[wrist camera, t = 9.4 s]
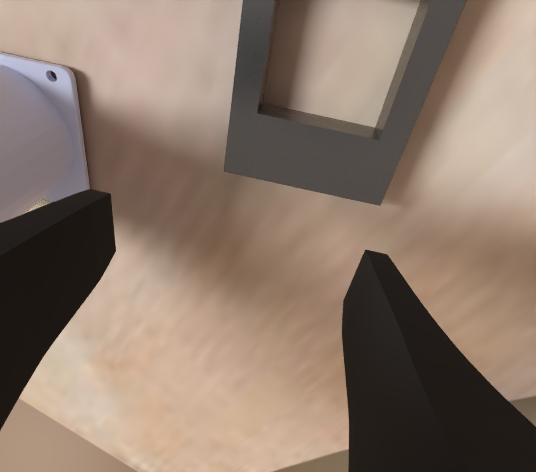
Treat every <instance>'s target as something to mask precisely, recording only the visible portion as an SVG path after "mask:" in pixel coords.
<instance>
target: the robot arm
mask: <svg viewBox="0 0 536 472" xmlns="http://www.w3.org/2000/svg"><path fill="white" fill-rule="evenodd" d="M51 71H53V72H54V73H55V74H56V76H57V80H56V79H54V78H53V77H52V75H51ZM42 199H44V200H49V201H53V203H50V204H48V205H45V206H43V207H40V208H37V209H35V210H32V211H30V212H27V211H28V210H29V209H31V208H32V207H33V206H35V205H36V204H37V203H38V202H40V201H41V200H42ZM26 212H27V213H26ZM24 213H25V214H24ZM115 252H116V246H115V236H114V225H113V215H112V204H111V194H109V193H105V192H100V191H96V190H91V189H90V184H89V177H88V169H87V162H86V154H85V146H84V139H83V131H82V123H81V116H80V108H79V101H78V93H77V85H76V78H75V75H74V73H73V72H72V71H71V70H70V69H69V68H68V67H65V66H62V65H57V64H53V63H48V62H44V61H39V60H35V59H30V58H25V57H21V56H16V55H12V54H7V53H3V52H0V430H1V428H2V426H3V424H4V423H5V421H6V419H7V417H8V416H9V414H10V412H11V410H12V409H13V407H14V405H15V403H16V402H17V400H18V398H19V396H20V395H21V393H22V391H23V389H24V388H25V386H26V384H27V383H28V381H29V379H30V378H31V376H32V375H33V373H34V371H35V370H36V368H37V366H38V365H39V363H40V361H41V360H42V358H43V357H44V355H45V354H46V352H47V351H48V349H49V348H50V346H51V345H52V344H53V342H54V341H55V340H56V338H57V337H58V336H59V334H60V333H61V332H62V330H63V329H64V328H65V326H66V325H67V324H68V322H69V321H70V320H71V318H72V317H73V316H74V314H75V313H76V312H77V310H78V309H79V308H80V306H81V305H82V304H83V302H84V301H85V300H86V298H87V297H88V296H89V294H90V293H91V292H92V290H93V289H94V288H95V286H96V285H97V283H98V282H99V281H100V279H101V277H102V276H103V274H104V272H105V270H106V269H107V267H108V265H109V263H110V261H111V259H112V257H113V255H114V254H115ZM342 340H343V353H344V364H345V376H346V387H347V398H348V411H349V472H536V427H535V426H534V425H533V424H532V423H531V422H530V421H529V420H528V419H527V418H526V417H525V416H524V415H522V414H521V413H520V412H519V411H518V410H517V409H516V408H515V407H514V406H513V405H512V404H511V403H510V402H508V401H507V400H506V399H505V398H504V397H503V396H502V395H501V394H500V393H499V392H498V391H497V390H496V389H495V388H494V387H493V386H492V385H491V384H490V383H489V382H488V381H487V380H486V379H485V378H484V377H483V375H482V374H481V373H480V372H479V371H478V370H477V369H476V368H475V367H474V366H473V365H472V364H471V363H470V362H469V361H468V360H467V359H466V357H465V356H464V355H463V354H462V353H461V352H460V351H459V349H458V348H457V347H456V346H455V345H454V344H453V342H452V341H451V340H450V339H449V338H448V336H447V335H446V334H445V333H444V331H443V330H442V329H441V328H440V327H439V325H438V324H437V323H436V321H435V320H434V319H433V318H432V316H431V315H430V314H429V312H428V311H427V310H426V308H425V307H424V306H423V304H422V303H421V302H420V300H419V299H418V298H417V296H416V295H415V293H414V292H413V291H412V289H411V288H410V286H409V285H408V283H407V282H406V281H405V279H404V278H403V276H402V275H401V273H400V272H399V270H398V269H397V268H396V266H395V265H394V263H393V262H392V260H391V259H390V258H389V256H388V255H387V254H383V253H378V252H374V251H369V250H365V252H364V254H363V256H362V259H361V261H360V263H359V266H358V268H357V270H356V273H355V275H354V277H353V280H352V282H351V284H350V287H349V289H348V291H347V294H346V296H345V298H344V301H343V318H342Z"/></svg>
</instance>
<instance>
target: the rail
mask: <svg viewBox="0 0 536 472" xmlns="http://www.w3.org/2000/svg"><path fill="white" fill-rule="evenodd" d="M278 2H279V0H243V5H242V14H241V23H240V32H239V41H238V50H237V58H236V67H235V76H234V85H233V94H232V103H231V112H230V120H229V129H228V138H227V147H226V156H225V165H224V172H229V173H233V174H238V175H242V176H247V177H251V178H256V179H261V180H265V181H270V182H274V183H279V184H283V185H288V186H293V187H297V188H302V189H306V190H311V191H315V192H320V193H325V194H329V195H334V196H338V197H343V198H347V199H352V200H356V201H361V202H366V203H370V204H375V205H379V206H380V205H381V203H382V200H383V198H384V196H385V193H386V191H387V188H388V186H389V184H390V181H391V179H392V177H393V174H394V172H395V169H396V167H397V165H398V162H399V160H400V158H401V155H402V153H403V150H404V148H405V146H406V143H407V141H408V138H409V136H410V134H411V131H412V129H413V127H414V124H415V122H416V119H417V117H418V115H419V112H420V110H421V107H422V105H423V103H424V100H425V98H426V96H427V93H428V91H429V88H430V86H431V84H432V81H433V79H434V77H435V74H436V72H437V69H438V67H439V65H440V62H441V60H442V57H443V55H444V53H445V50H446V48H447V46H448V43H449V41H450V38H451V36H452V34H453V31H454V29H455V26H456V24H457V22H458V19H459V17H460V15H461V12H462V10H463V7H464V5H465V3H466V0H421V2H420V4H419V7H418V10H417V13H416V16H415V18H414V21H413V24H412V27H411V30H410V32H409V35H408V38H407V41H406V44H405V46H404V49H403V52H402V55H401V58H400V60H399V63H398V66H397V69H396V72H395V74H394V77H393V80H392V83H391V86H390V88H389V91H388V94H387V97H386V100H385V102H384V105H383V108H382V111H381V114H380V116H379V119H378V122H377V125H376V128H373V127H368V126H364V125H359V124H355V123H350V122H345V121H341V120H336V119H332V118H327V117H323V116H318V115H313V114H309V113H304V112H300V111H295V110H291V109H286V108H281V107H277V106H272V105H268V104H263V103H262V101H263V95H264V89H265V82H266V76H267V70H268V64H269V58H270V52H271V45H272V39H273V33H274V27H275V21H276V15H277V8H278Z"/></svg>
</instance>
